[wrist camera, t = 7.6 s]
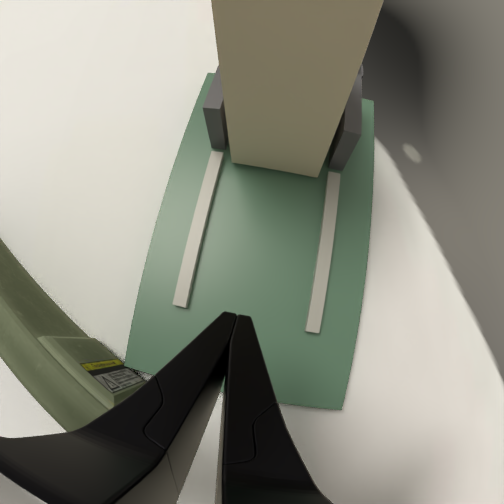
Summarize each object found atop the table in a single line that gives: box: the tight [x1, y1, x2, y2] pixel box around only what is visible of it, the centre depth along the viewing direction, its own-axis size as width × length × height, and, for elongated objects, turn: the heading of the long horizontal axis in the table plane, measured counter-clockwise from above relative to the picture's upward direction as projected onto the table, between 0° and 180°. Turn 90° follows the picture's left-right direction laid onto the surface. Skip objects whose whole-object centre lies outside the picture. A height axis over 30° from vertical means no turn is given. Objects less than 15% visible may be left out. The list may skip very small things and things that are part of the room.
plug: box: [211, 0, 383, 178], centre depth 12 cm, size 5×5×13 cm
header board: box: [124, 65, 374, 410], centre depth 15 cm, size 20×12×6 cm, turn 169°
